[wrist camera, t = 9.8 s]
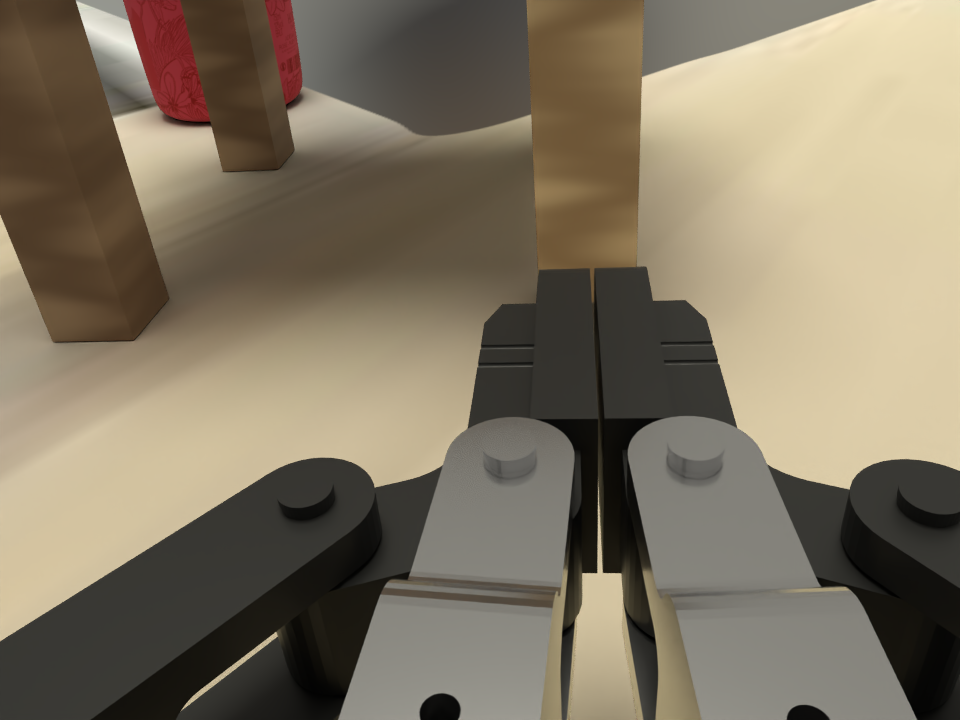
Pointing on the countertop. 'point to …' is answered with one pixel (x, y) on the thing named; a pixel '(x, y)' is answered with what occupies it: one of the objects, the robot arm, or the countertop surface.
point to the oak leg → (586, 131)
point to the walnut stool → (113, 156)
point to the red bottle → (173, 60)
